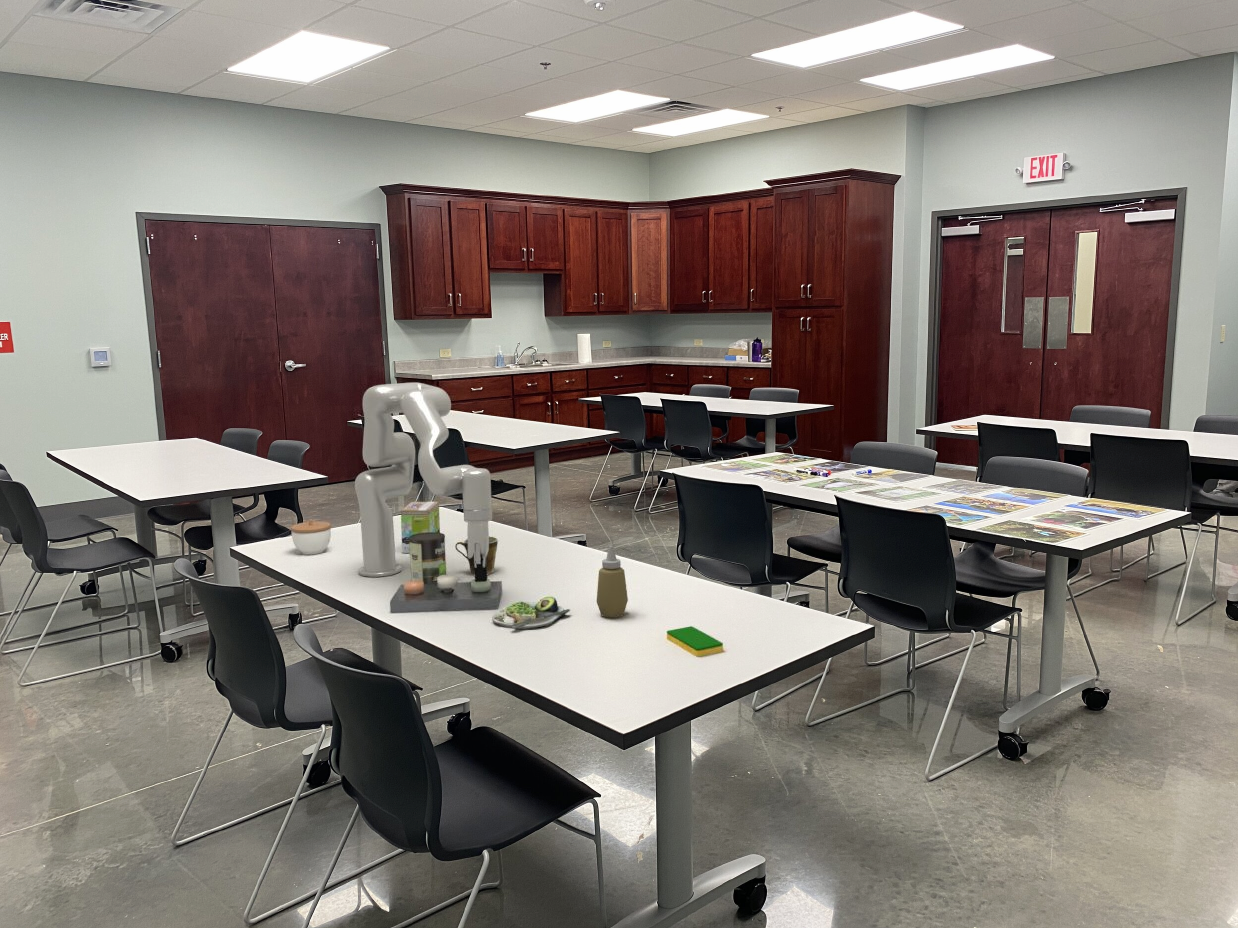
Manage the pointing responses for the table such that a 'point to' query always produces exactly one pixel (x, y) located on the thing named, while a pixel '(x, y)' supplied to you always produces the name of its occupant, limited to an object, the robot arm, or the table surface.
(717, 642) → the dish sponge
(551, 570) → the table surface
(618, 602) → the squeeze bottle
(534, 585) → the table surface
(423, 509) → the tea box
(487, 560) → the ceramic cup
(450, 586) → the button cream
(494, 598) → the panel
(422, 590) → the brown egg
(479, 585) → the button sage
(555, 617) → the avocado toast plate
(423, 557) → the coffee can
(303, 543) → the lidded bowl
